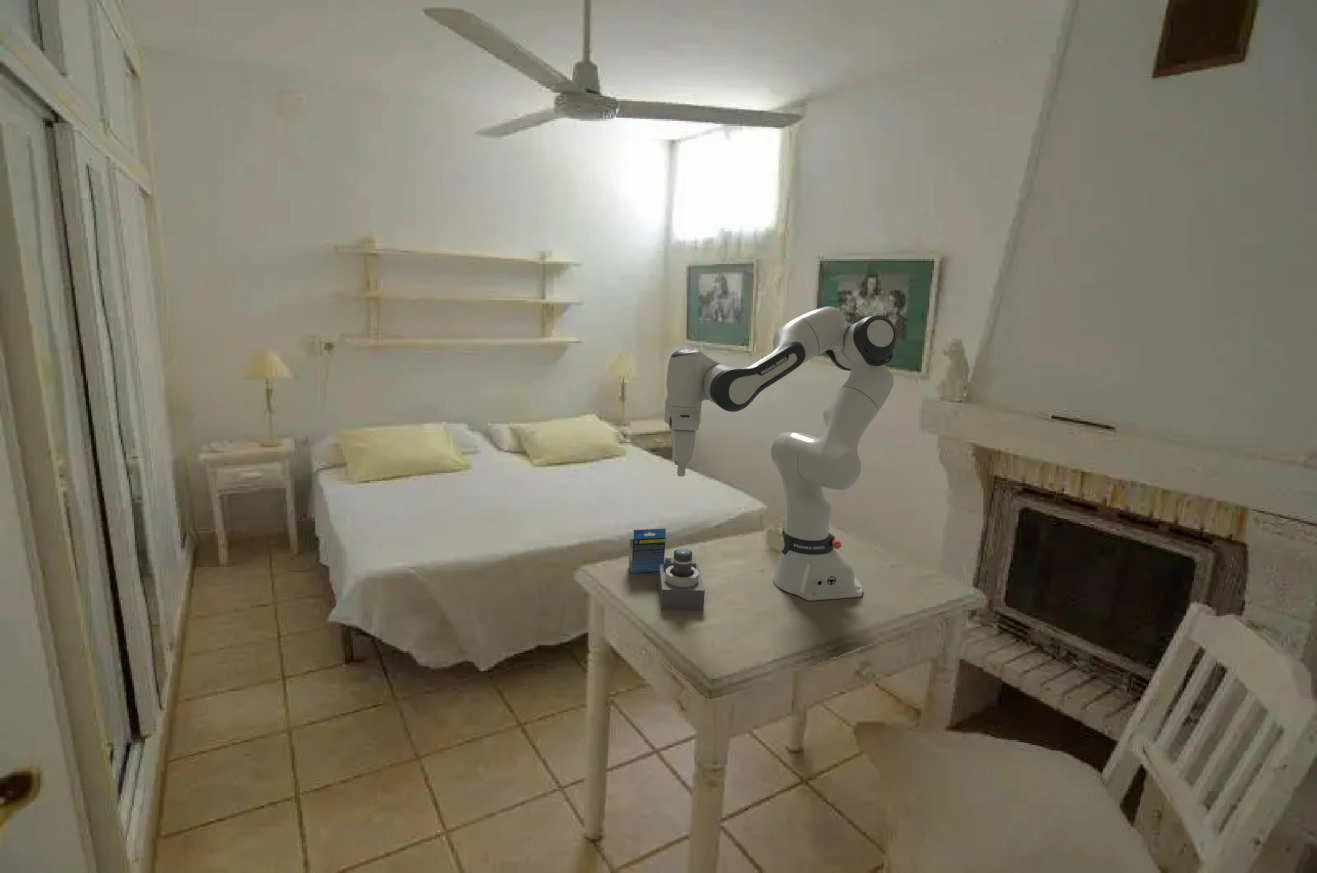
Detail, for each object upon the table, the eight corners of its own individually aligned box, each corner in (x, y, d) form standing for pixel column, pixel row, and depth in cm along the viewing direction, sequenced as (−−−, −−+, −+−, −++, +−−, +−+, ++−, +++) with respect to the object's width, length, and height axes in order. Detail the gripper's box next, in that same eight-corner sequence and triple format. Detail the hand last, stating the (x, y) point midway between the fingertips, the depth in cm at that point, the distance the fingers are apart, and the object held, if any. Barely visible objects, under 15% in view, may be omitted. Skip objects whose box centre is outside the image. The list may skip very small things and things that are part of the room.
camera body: (697, 582, 169) (699, 555, 168) (703, 610, 156) (705, 580, 154) (658, 582, 169) (660, 554, 167) (661, 609, 155) (662, 579, 153)
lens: (677, 573, 163) (678, 546, 161) (693, 578, 161) (695, 550, 159) (668, 580, 159) (670, 553, 157) (685, 585, 157) (687, 557, 155)
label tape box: (660, 565, 179) (662, 522, 176) (664, 572, 175) (666, 528, 172) (628, 567, 176) (629, 524, 173) (631, 574, 172) (633, 530, 170)
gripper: (667, 406, 172) (664, 458, 175) (672, 424, 152) (669, 481, 155) (691, 407, 172) (688, 458, 175) (699, 425, 152) (696, 482, 155)
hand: (679, 469), depth 165 cm, fingers open, 8 cm apart
